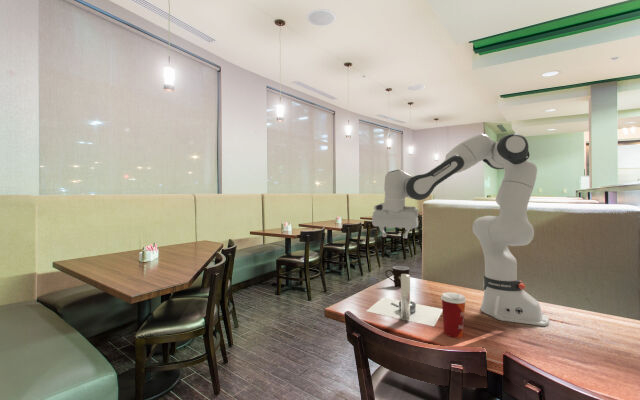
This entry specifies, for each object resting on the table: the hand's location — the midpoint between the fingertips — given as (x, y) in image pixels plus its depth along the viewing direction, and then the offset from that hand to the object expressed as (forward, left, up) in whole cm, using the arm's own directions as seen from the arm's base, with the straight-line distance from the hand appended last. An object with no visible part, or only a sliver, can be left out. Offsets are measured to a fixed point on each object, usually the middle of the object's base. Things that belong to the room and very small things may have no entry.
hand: (394, 237), depth 129 cm
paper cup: (-27, +21, -29) cm, 45 cm away
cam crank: (-9, +11, -28) cm, 31 cm away
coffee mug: (+6, -24, -29) cm, 38 cm away
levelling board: (-7, +9, -29) cm, 32 cm away
